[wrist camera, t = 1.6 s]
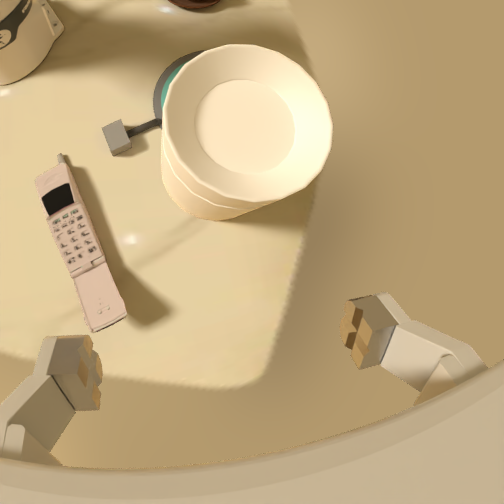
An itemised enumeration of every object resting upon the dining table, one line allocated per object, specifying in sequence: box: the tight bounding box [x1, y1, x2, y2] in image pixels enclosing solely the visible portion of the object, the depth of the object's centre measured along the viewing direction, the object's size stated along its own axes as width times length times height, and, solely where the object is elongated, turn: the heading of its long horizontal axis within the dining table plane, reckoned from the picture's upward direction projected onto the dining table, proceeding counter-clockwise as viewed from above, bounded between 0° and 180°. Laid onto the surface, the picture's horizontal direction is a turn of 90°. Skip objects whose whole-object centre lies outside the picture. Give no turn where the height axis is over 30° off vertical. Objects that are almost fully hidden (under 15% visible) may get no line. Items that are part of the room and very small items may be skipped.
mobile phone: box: [35, 153, 127, 333], centre depth 38 cm, size 6×6×25 cm
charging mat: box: [102, 50, 207, 156], centre depth 44 cm, size 20×28×2 cm
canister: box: [161, 44, 333, 221], centre depth 37 cm, size 16×16×20 cm
